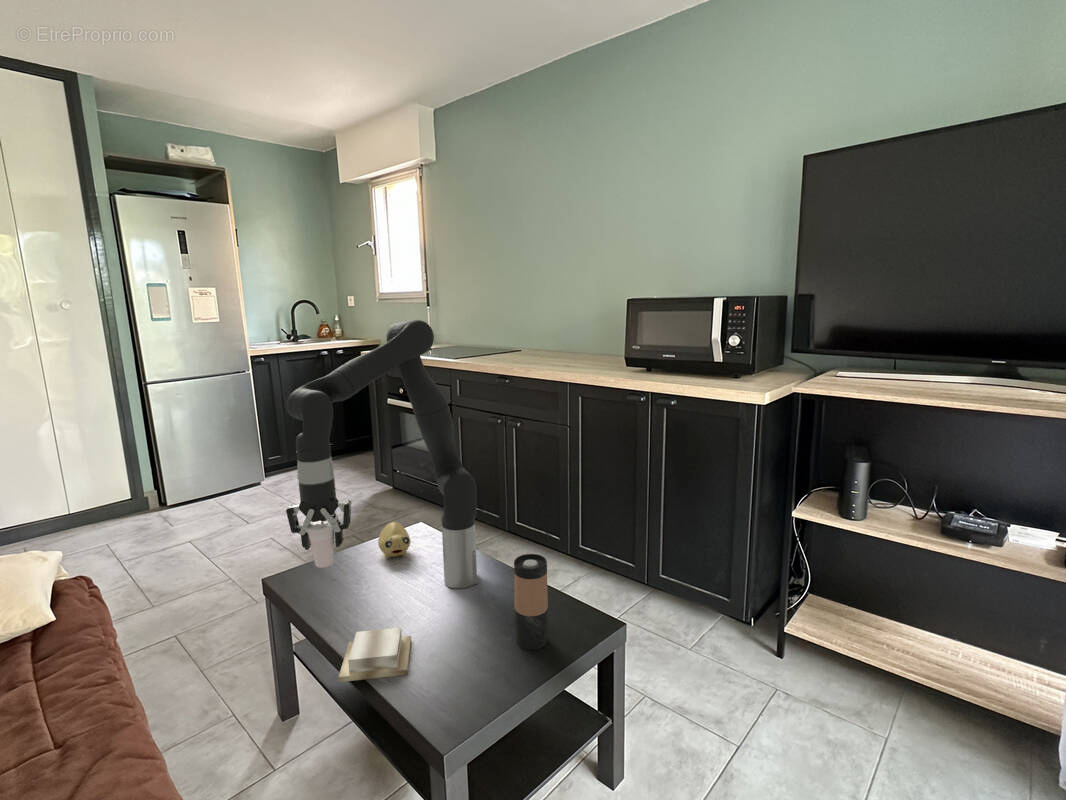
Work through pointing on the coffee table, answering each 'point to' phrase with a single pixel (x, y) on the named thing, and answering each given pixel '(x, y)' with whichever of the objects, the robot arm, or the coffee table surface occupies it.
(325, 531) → the smoothie
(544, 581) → the travel mug
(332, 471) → the robot arm
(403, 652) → the base
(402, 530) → the yellow toy creature
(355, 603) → the coffee table surface
